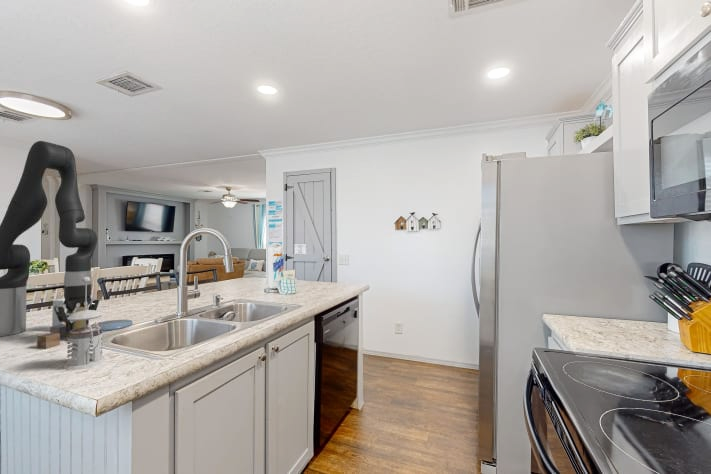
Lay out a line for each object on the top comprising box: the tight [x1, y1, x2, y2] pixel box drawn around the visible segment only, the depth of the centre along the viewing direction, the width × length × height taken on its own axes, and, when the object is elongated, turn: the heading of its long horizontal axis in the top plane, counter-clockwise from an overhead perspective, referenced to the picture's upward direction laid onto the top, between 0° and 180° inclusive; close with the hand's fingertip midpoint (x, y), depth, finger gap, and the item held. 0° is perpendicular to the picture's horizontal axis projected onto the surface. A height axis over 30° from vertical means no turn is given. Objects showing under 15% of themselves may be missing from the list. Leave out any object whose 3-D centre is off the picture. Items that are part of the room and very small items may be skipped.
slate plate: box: [89, 319, 133, 332], centre depth 131 cm, size 14×14×1 cm
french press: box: [62, 277, 107, 371], centre depth 93 cm, size 10×12×25 cm
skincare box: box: [51, 297, 67, 327], centre depth 126 cm, size 6×4×12 cm
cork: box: [65, 307, 87, 341], centre depth 116 cm, size 6×6×11 cm
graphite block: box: [49, 324, 67, 339], centre depth 117 cm, size 4×4×4 cm
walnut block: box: [36, 332, 61, 350], centre depth 107 cm, size 4×4×4 cm
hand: (77, 330), depth 116 cm, fingers closed on cork, 4 cm apart
